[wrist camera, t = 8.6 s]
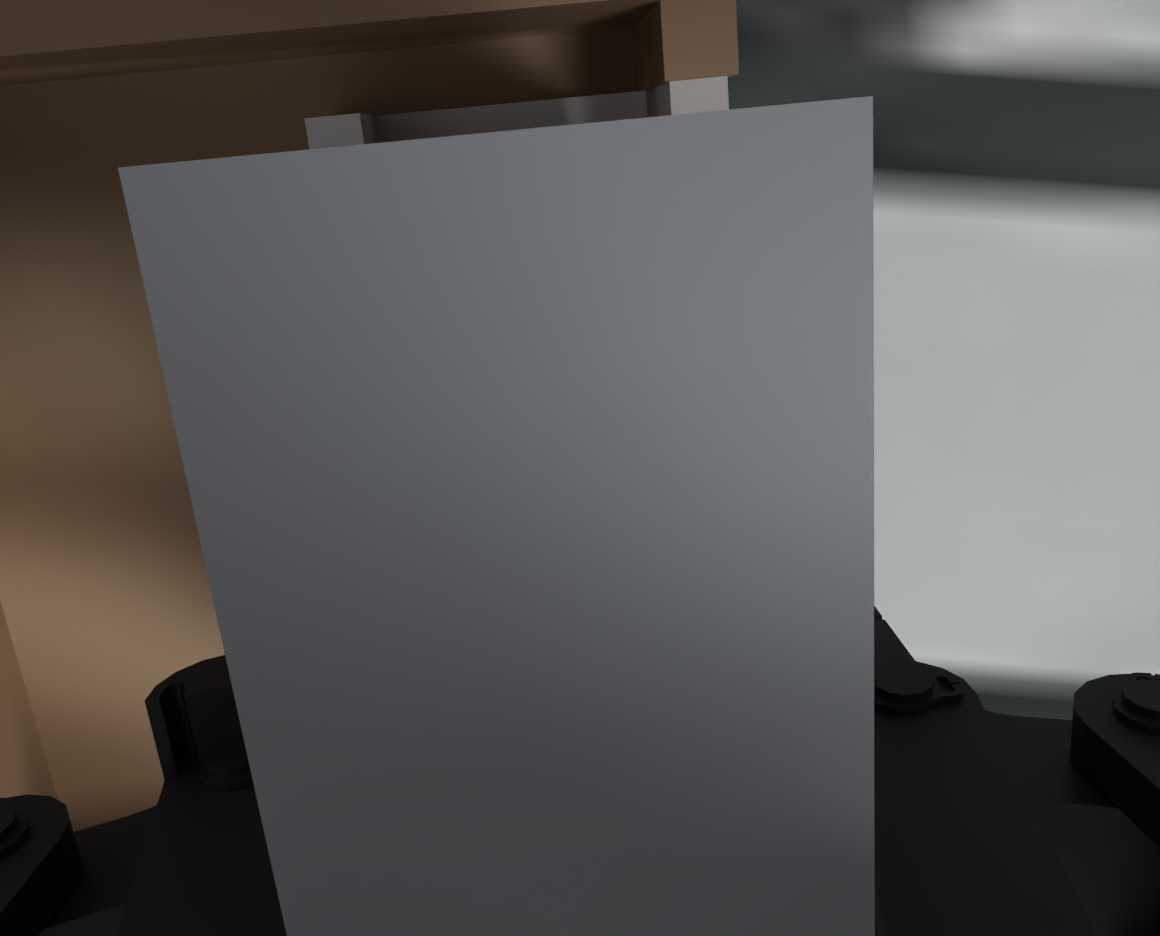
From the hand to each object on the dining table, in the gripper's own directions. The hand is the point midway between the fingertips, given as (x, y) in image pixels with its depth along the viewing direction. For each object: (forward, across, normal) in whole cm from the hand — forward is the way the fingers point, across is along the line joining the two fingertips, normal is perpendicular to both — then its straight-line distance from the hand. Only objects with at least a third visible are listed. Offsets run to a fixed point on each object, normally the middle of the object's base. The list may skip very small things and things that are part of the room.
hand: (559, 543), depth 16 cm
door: (+2, 0, 0) cm, 2 cm away
